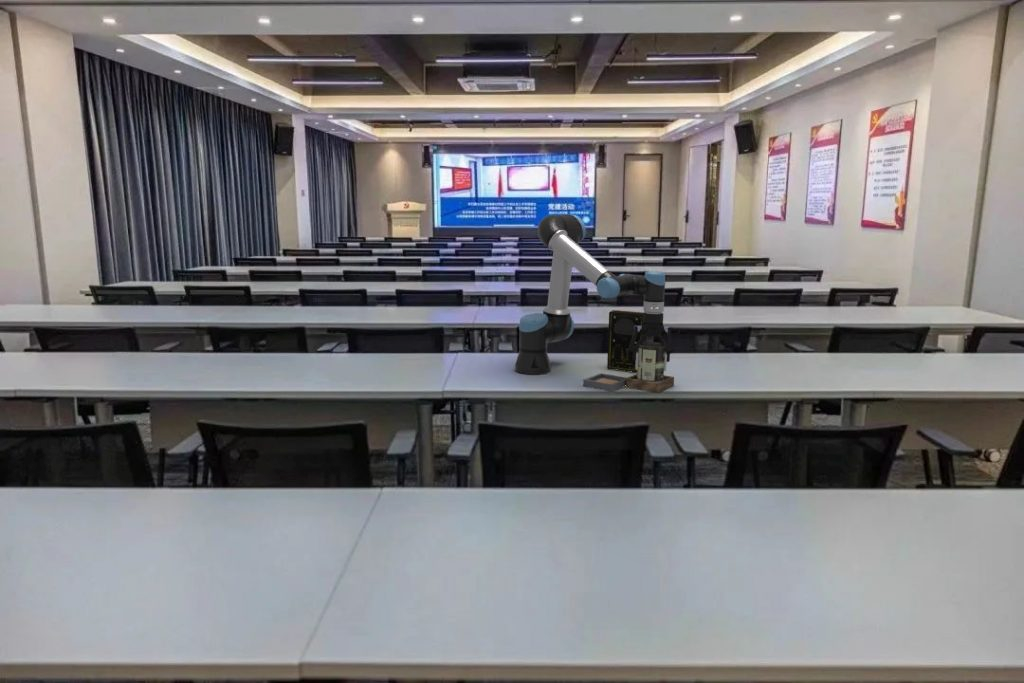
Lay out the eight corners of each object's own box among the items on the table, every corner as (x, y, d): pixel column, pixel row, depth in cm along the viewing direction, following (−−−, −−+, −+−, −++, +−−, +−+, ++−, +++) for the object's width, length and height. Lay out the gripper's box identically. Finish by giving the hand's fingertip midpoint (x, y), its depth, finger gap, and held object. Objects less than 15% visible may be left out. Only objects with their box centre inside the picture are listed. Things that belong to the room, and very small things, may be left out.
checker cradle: (583, 385, 265) (583, 379, 265) (600, 379, 275) (600, 373, 275) (612, 391, 257) (613, 385, 257) (629, 384, 267) (629, 378, 267)
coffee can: (659, 376, 270) (661, 341, 267) (667, 383, 260) (668, 347, 257) (633, 376, 269) (635, 341, 266) (640, 383, 259) (641, 347, 256)
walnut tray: (625, 387, 264) (626, 378, 263) (642, 380, 274) (642, 371, 273) (658, 393, 256) (658, 384, 255) (673, 385, 266) (674, 376, 265)
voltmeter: (605, 369, 291) (607, 311, 286) (612, 365, 298) (614, 308, 293) (641, 374, 283) (643, 314, 278) (647, 369, 291) (650, 311, 286)
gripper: (623, 313, 257) (621, 370, 261) (685, 314, 254) (681, 373, 258) (622, 309, 264) (620, 366, 269) (682, 311, 261) (679, 368, 266)
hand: (650, 369), depth 264 cm, fingers closed on coffee can, 10 cm apart
